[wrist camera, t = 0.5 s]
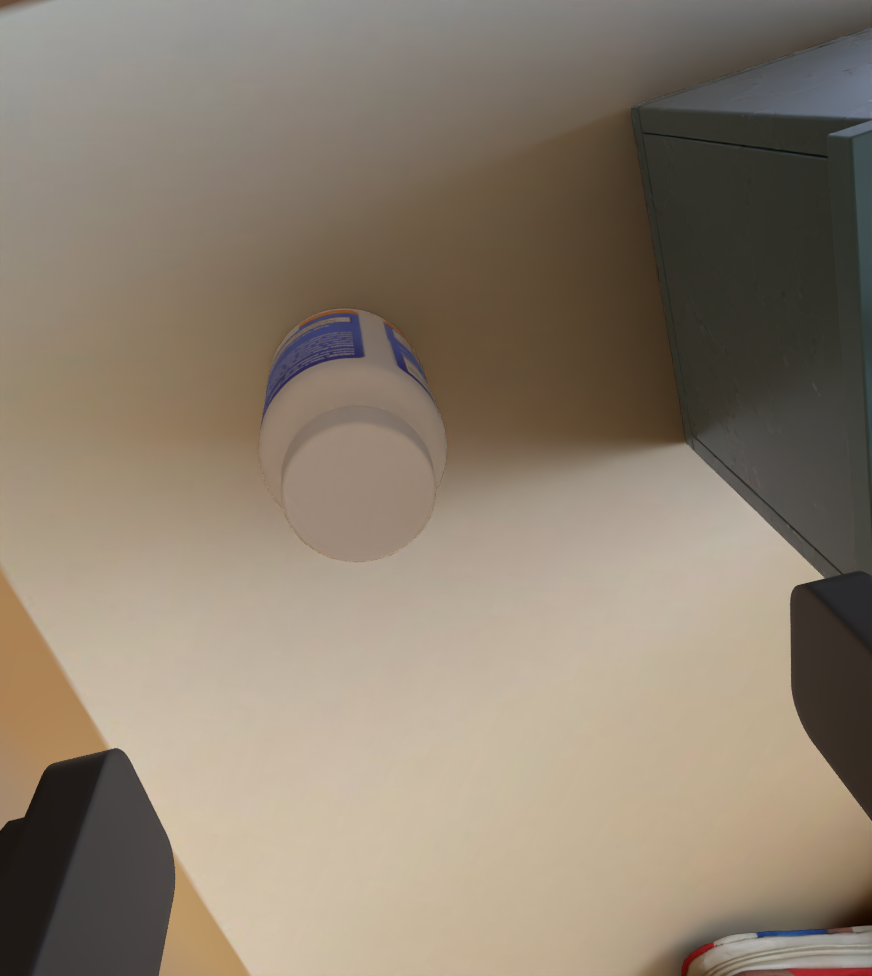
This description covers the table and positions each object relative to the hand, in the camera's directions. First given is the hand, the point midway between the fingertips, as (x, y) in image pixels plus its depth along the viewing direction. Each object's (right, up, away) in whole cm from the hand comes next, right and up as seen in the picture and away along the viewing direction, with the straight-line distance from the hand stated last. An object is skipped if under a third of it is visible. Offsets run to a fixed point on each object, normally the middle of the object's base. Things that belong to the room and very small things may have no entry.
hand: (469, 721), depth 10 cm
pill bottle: (-4, +7, +20) cm, 21 cm away
